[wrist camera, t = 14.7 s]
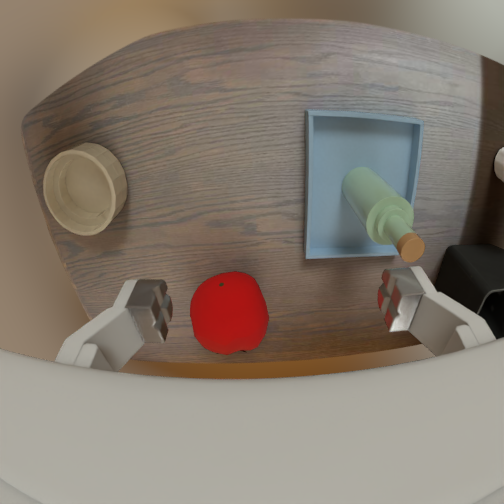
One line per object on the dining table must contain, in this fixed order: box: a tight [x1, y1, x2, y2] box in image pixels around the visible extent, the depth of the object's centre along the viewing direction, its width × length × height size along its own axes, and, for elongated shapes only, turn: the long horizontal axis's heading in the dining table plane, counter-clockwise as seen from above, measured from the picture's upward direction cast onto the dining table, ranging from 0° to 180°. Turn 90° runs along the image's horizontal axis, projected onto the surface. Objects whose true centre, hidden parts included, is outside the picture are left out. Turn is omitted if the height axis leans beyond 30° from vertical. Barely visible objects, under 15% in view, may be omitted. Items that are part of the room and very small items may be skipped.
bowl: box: [43, 143, 127, 236], centre depth 38 cm, size 13×13×5 cm
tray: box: [304, 109, 424, 259], centre depth 38 cm, size 21×16×3 cm
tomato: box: [190, 271, 269, 355], centre depth 46 cm, size 13×13×13 cm
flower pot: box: [434, 244, 504, 340], centre depth 40 cm, size 19×19×17 cm
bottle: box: [342, 167, 425, 262], centre depth 32 cm, size 6×6×17 cm
